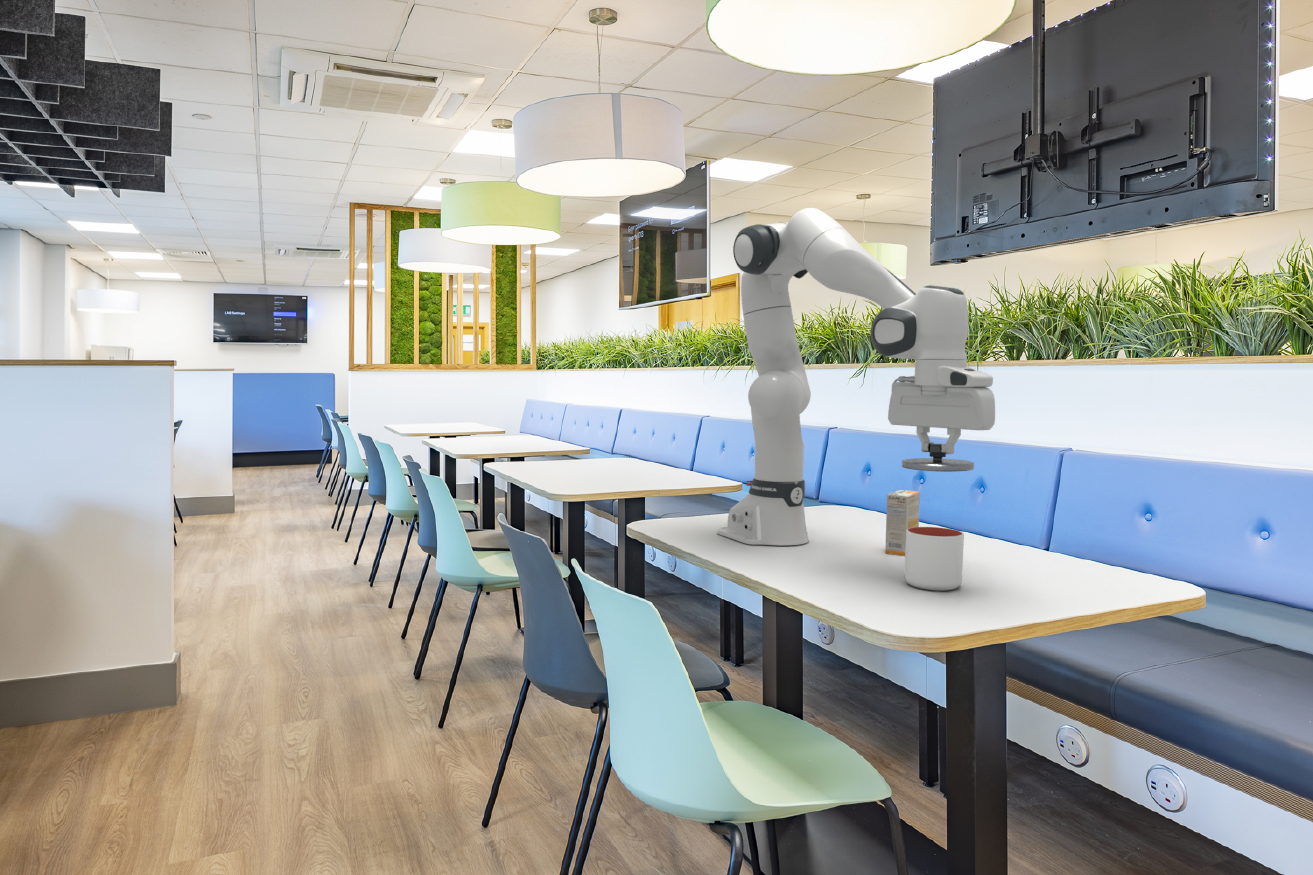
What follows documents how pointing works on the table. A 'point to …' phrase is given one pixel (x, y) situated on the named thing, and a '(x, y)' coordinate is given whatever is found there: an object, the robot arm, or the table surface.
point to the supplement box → (900, 519)
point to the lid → (937, 462)
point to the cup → (934, 558)
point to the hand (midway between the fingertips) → (937, 452)
